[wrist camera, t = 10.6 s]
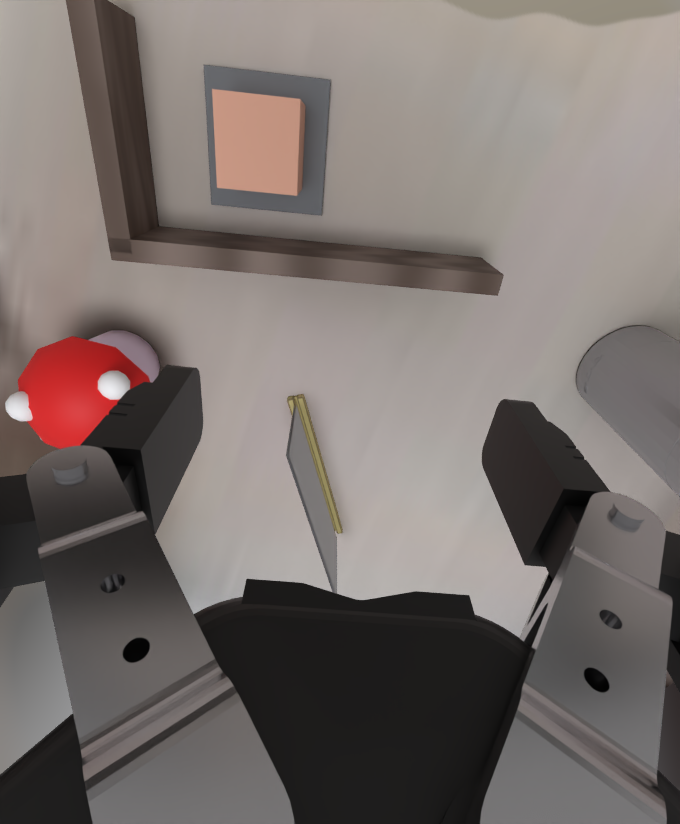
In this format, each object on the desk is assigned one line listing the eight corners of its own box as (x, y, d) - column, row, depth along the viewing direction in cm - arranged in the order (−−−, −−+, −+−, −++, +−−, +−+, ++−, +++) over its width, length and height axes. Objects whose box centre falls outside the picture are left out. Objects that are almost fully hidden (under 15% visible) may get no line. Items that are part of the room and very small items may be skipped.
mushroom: (199, 349, 43) (155, 414, 32) (156, 426, 47) (106, 503, 37) (90, 288, 39) (5, 338, 29) (56, 377, 44) (-28, 447, 34)
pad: (330, 80, 32) (330, 79, 31) (321, 214, 36) (321, 215, 36) (205, 66, 31) (203, 64, 31) (213, 203, 36) (211, 204, 35)
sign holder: (342, 529, 56) (343, 597, 48) (329, 531, 56) (328, 599, 48) (303, 393, 46) (296, 450, 37) (287, 396, 46) (276, 453, 37)
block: (305, 105, 32) (300, 98, 27) (302, 189, 35) (296, 195, 30) (230, 97, 32) (212, 88, 27) (233, 182, 34) (216, 187, 30)
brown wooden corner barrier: (530, 66, 31) (567, 50, 26) (476, 276, 39) (497, 295, 34) (110, 14, 30) (63, -13, 25) (142, 244, 37) (111, 260, 32)
